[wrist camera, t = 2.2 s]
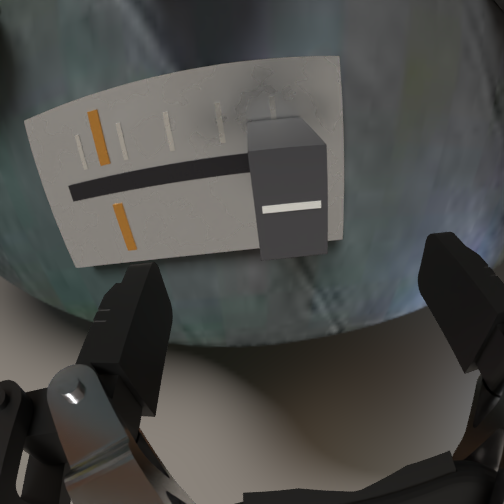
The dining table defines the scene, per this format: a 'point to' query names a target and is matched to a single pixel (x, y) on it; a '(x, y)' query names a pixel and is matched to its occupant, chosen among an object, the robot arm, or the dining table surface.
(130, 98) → the console board
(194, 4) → the dining table surface
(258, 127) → the fader knob
